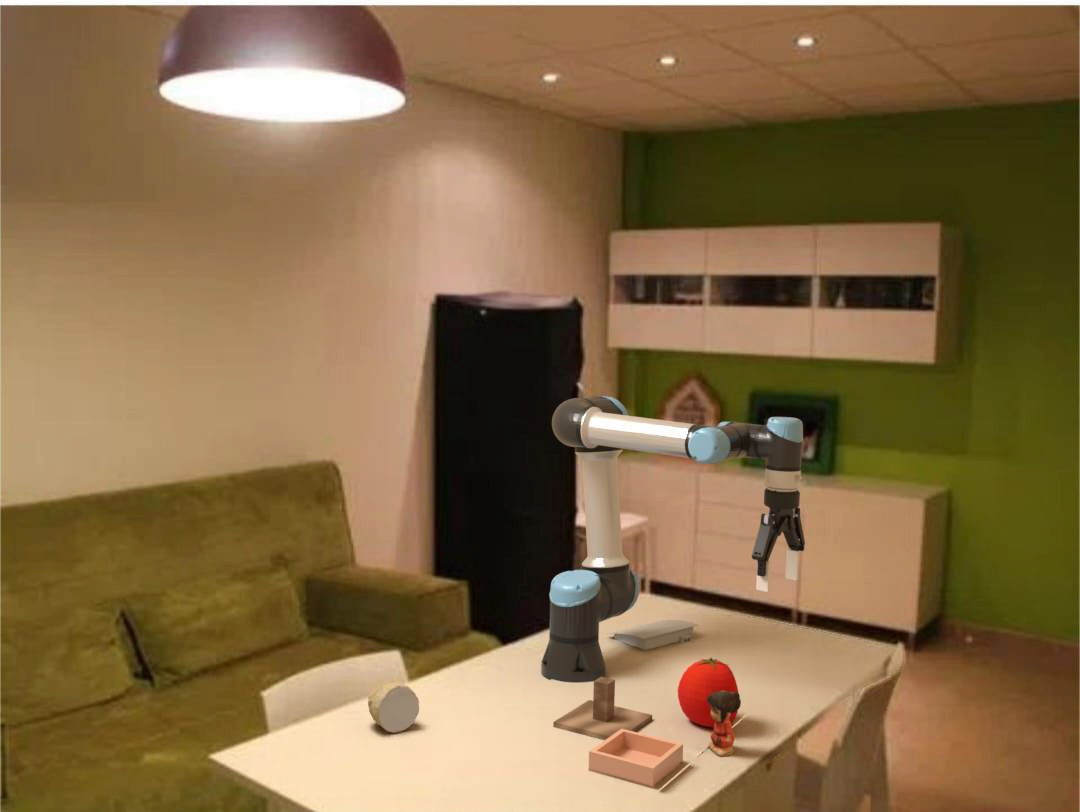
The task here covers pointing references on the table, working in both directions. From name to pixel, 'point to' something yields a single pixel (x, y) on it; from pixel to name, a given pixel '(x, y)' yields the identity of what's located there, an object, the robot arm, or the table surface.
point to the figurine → (723, 721)
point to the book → (656, 633)
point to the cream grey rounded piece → (393, 706)
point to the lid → (602, 714)
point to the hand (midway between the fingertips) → (777, 585)
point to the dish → (636, 758)
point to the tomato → (704, 689)
